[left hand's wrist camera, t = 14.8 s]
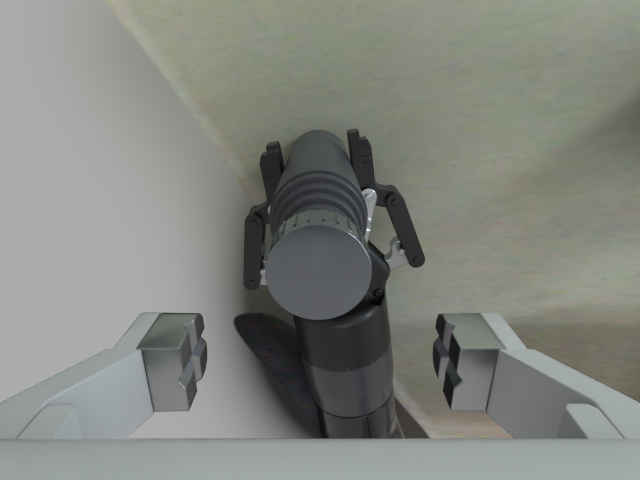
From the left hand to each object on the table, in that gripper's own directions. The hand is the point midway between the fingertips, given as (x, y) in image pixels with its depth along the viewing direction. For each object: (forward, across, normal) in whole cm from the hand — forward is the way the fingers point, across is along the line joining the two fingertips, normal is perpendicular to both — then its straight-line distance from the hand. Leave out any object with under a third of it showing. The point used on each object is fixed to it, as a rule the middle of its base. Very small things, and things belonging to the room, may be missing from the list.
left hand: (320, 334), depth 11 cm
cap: (+4, 0, 0) cm, 4 cm away
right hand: (+18, 0, -3) cm, 19 cm away
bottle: (+25, 0, 0) cm, 25 cm away
